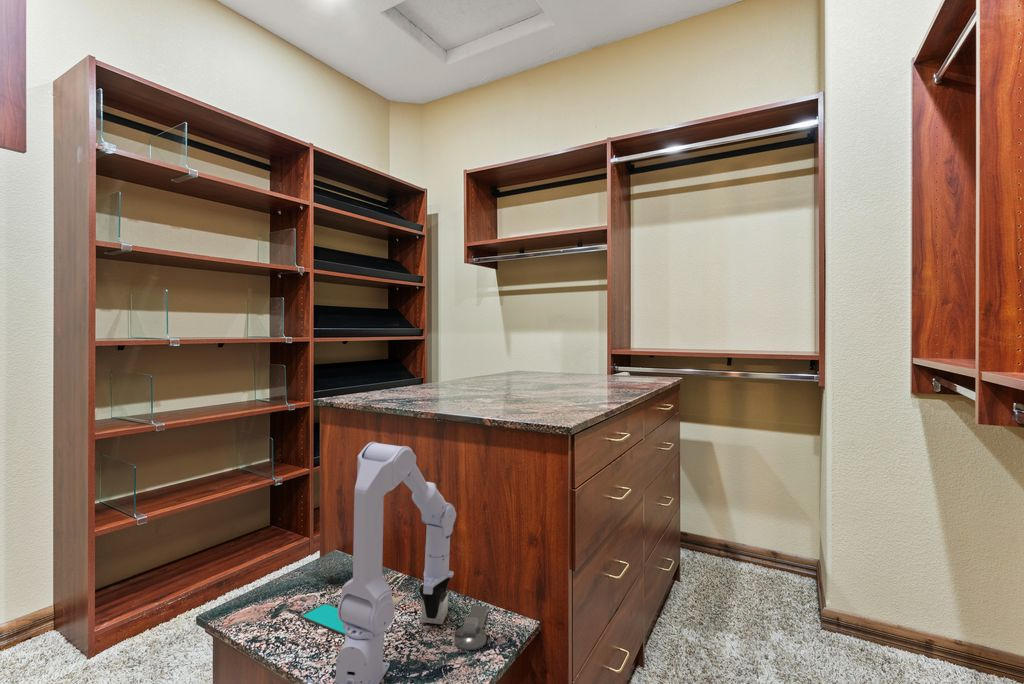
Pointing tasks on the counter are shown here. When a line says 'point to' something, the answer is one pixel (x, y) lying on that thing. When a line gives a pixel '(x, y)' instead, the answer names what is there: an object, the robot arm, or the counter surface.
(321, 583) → the counter surface
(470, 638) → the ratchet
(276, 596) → the counter surface
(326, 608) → the smartphone
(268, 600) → the counter surface
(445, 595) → the brushed metal cube
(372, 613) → the robot arm
